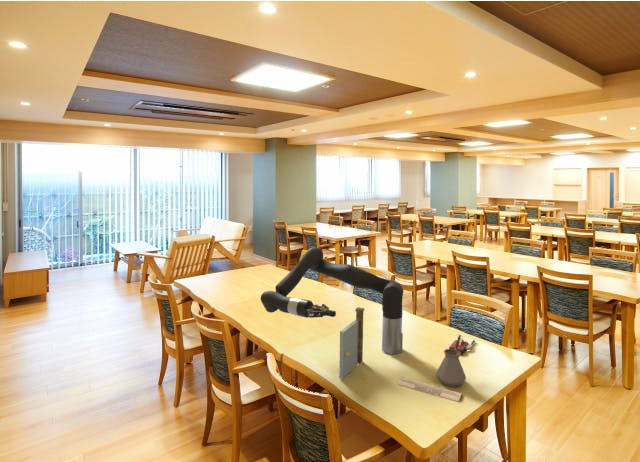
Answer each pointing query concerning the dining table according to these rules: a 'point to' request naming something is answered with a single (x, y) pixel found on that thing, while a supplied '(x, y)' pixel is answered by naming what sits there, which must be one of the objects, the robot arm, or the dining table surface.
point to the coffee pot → (451, 367)
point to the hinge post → (360, 332)
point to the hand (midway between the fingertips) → (335, 314)
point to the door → (348, 348)
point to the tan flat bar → (430, 389)
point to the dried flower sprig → (462, 346)
